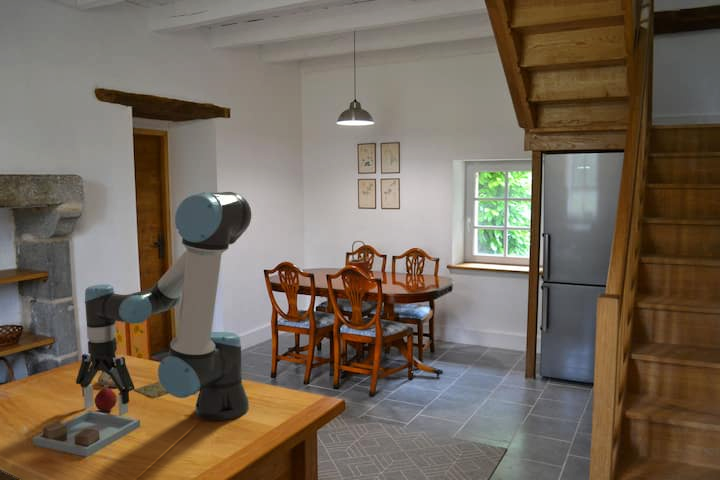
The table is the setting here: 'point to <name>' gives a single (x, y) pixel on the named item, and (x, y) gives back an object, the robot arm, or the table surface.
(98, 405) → the onion
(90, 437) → the walnut cube
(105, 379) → the rock
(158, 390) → the speckled stone tile
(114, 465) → the table surface
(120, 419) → the dish
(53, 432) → the walnut cube
